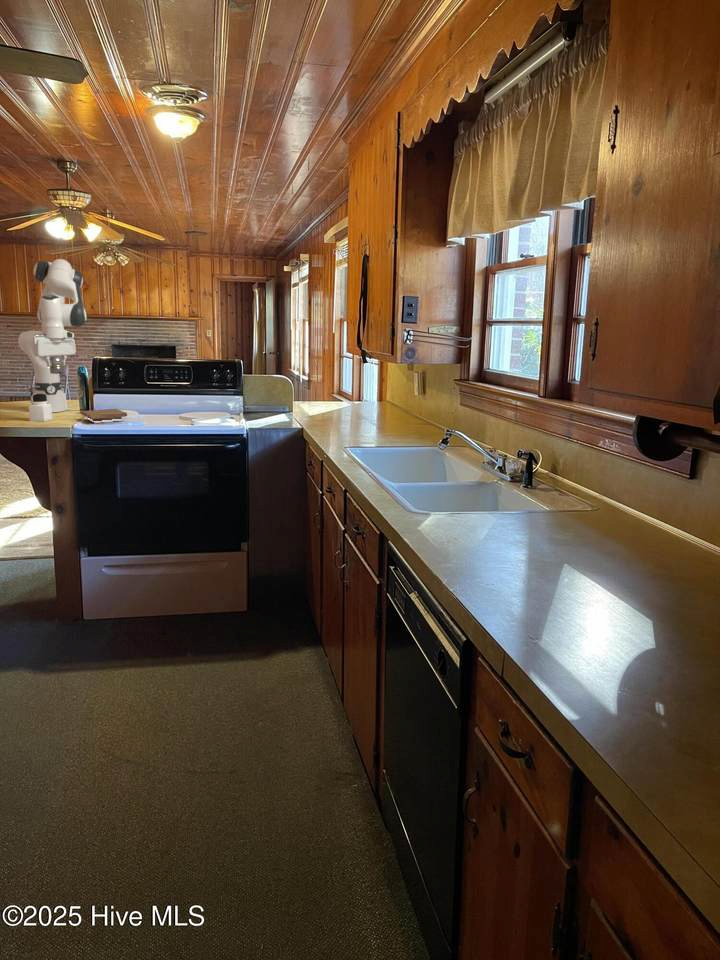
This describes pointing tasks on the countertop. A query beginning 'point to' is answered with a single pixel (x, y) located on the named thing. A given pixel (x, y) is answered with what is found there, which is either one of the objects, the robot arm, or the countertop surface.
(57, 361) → the grey metal cylinder
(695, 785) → the countertop surface
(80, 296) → the robot arm
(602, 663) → the countertop surface
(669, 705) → the countertop surface
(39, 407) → the medicine bottle
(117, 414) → the walnut stand
